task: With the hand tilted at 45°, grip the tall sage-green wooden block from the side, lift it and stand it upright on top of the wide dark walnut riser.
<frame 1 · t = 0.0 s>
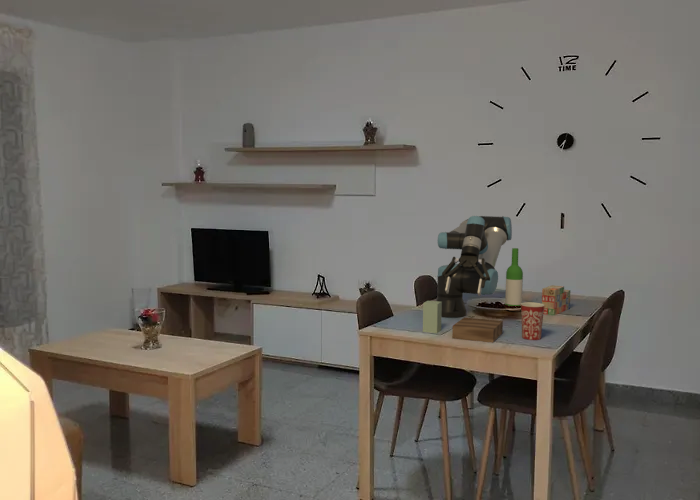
hand: (462, 293, 271), 15 cm above the table, tool tilted 35°, fingers open, 13 cm apart
walnut riser: (477, 335, 262), on the table
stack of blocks: (556, 311, 314), on the table
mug: (531, 337, 260), on the table
wine bottle: (513, 311, 314), on the table
green block: (432, 331, 270), on the table
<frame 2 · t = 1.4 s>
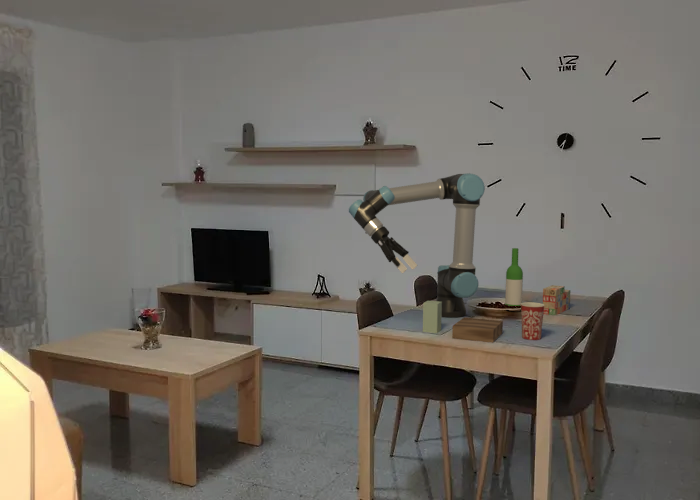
hand: (410, 269, 271), 25 cm above the table, tool tilted 45°, fingers open, 13 cm apart
nothing on the table moved.
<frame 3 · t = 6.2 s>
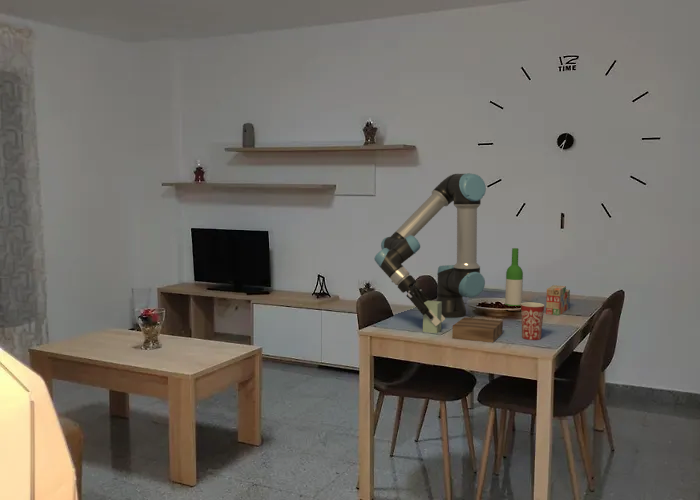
hand: (440, 322, 268), 4 cm above the table, tool tilted 45°, fingers closed on green block, 6 cm apart
green block: (432, 331, 270), on the table, touching gripper
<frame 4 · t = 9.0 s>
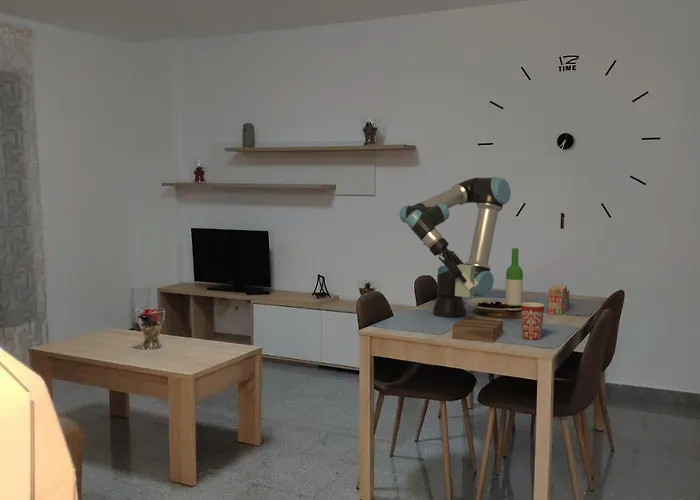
hand: (473, 286, 259), 20 cm above the table, tool tilted 45°, fingers closed on green block, 6 cm apart
green block: (464, 295, 261), point 16 cm above the table, touching gripper
when the fingers open (10 cm above the table, at t = 12.2 s): green block stays where it is, resting on walnut riser.
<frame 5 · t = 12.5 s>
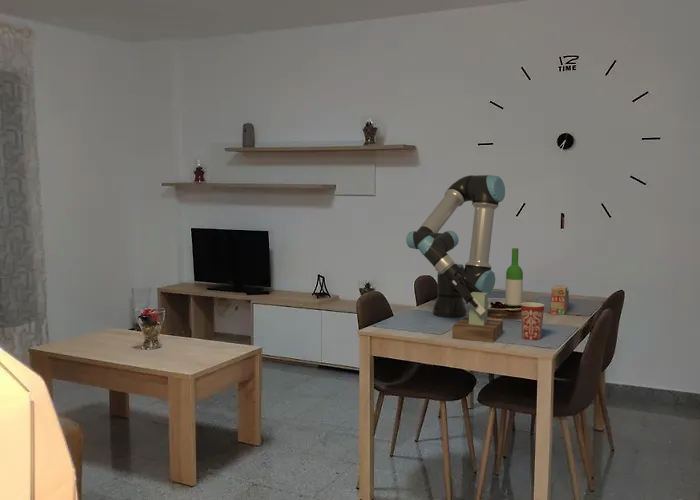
hand: (486, 310, 260), 10 cm above the table, tool tilted 45°, fingers open, 10 cm apart
green block: (478, 323, 261), point 5 cm above the table, touching walnut riser
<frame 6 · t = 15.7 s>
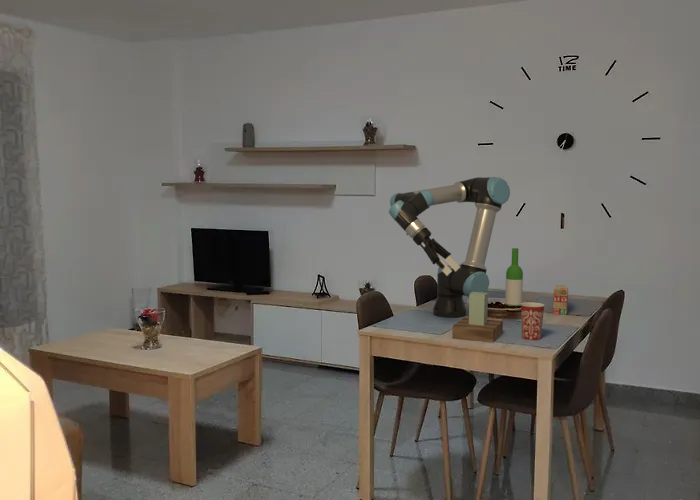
hand: (453, 271, 264), 25 cm above the table, tool tilted 45°, fingers open, 13 cm apart
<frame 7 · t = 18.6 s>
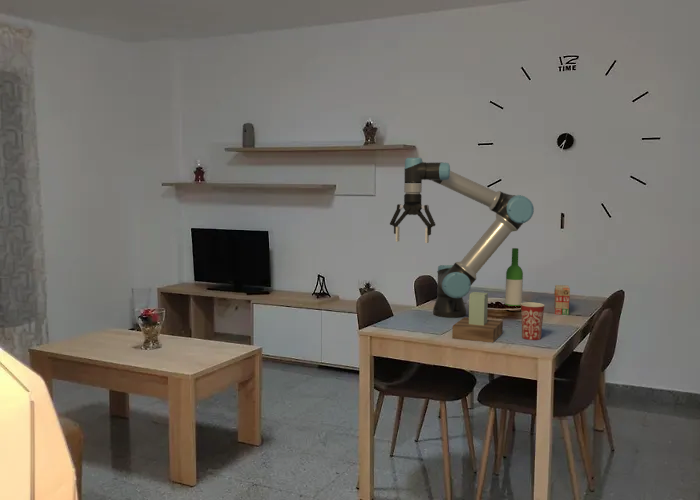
hand: (412, 242, 288), 35 cm above the table, tool pointing down, fingers open, 13 cm apart
at the end: green block inside the target area on the walnut riser (0.1 cm from its centre), point 5.0 cm above the walnut riser's base; green block tilted 0°; the gripper is holding nothing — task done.
